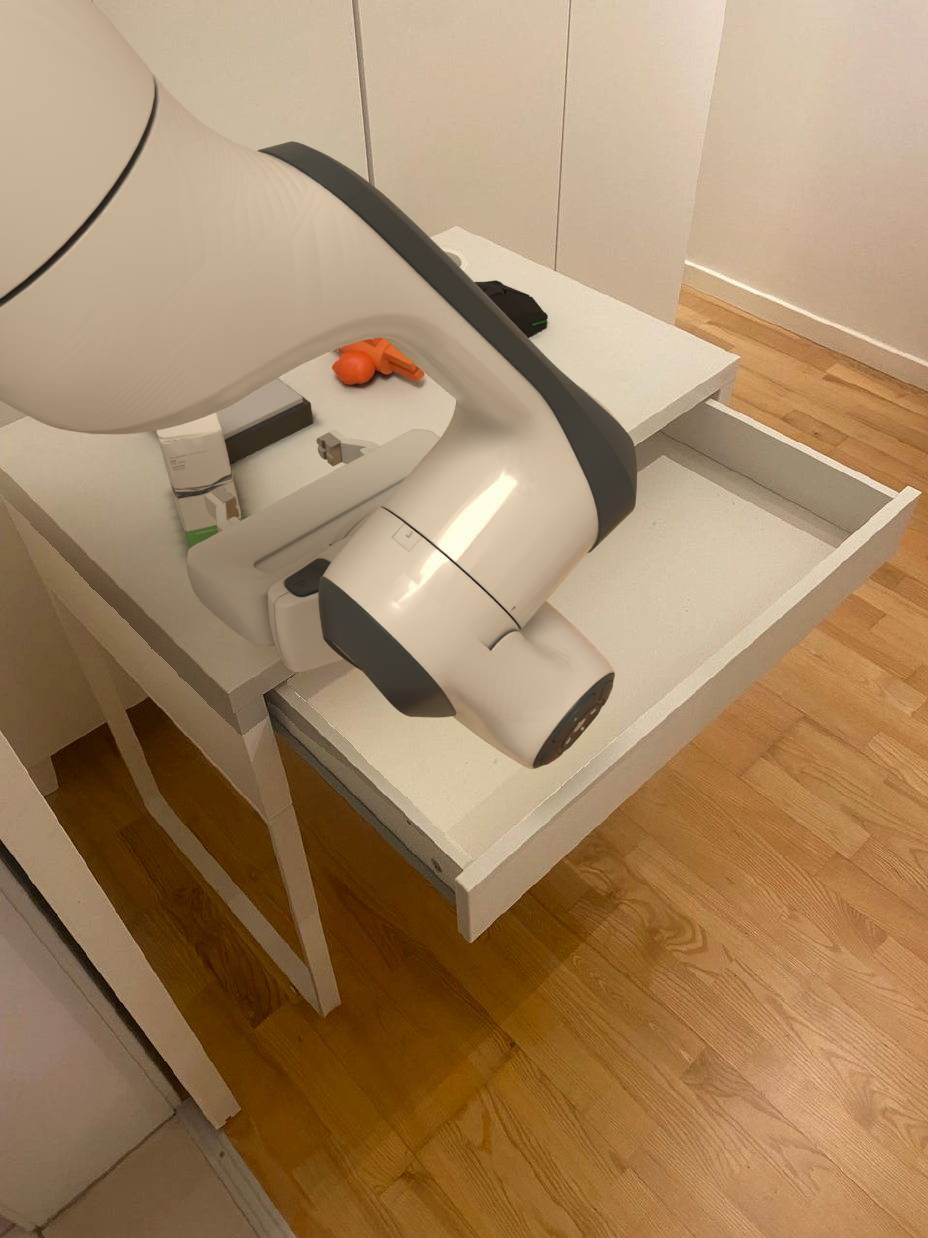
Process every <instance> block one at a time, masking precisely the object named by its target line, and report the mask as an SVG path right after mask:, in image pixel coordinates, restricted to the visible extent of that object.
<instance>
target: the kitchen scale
mask: <svg viewBox="0 0 928 1238" xmlns="http://www.w3.org/2000/svg"><path fill="white" fill-rule="evenodd" d="M312 411H313V410H312V403H311V401H309V400H308V399H307V398H305V397H304V396H303V395H301V394H300V393H299V392H297V391H296V390H294V389H293V388H292V387H290V386H289V385H288V384H287V383H286V382H284V381H282V380H281V379H280V378H279V377H278V378H276V379H274V380H273V381H271V382H269V383H268V384H266V385H264V386H263V387H261V388H259V389H257V390H256V391H254V392H253V393H251V394H249V395H248V396H246V397H245V398H243V399H241V400H240V401H238V402H236V403H234V404H233V405H231V406H229V407H227V408H225V409H223V410H220V411H218V412H217V415H218V418H219V422H220V425H221V429H222V433H223V437H224V441H225V445H226V449H227V453H228V457H229V462H230V465H232V464H234V463H236V462H238V461H240V460H242V459H244V458H246V457H248V456H250V455H252V454H254V453H256V452H258V451H260V450H262V449H264V448H265V447H268V446H269V445H272V444H274V443H276V442H278V441H280V440H283V439H284V438H286V437H288V436H290V435H292V434H294V433H296V432H298V431H300V430H302V429H304V428H306V427H309V426H310V425H313V424H314V420H313V419H314V417H313V412H312Z"/></svg>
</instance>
